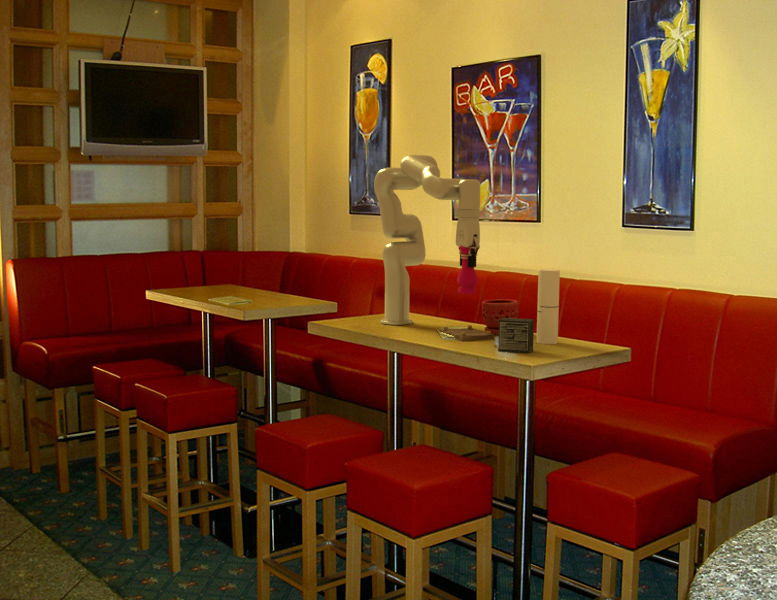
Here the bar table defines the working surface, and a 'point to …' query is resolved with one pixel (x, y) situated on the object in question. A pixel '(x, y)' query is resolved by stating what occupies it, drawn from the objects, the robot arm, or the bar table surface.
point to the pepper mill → (466, 274)
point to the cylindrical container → (548, 306)
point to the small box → (516, 335)
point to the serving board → (468, 334)
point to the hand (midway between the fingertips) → (467, 266)
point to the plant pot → (498, 313)
